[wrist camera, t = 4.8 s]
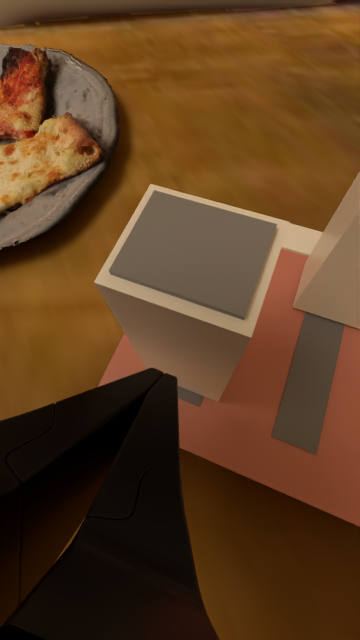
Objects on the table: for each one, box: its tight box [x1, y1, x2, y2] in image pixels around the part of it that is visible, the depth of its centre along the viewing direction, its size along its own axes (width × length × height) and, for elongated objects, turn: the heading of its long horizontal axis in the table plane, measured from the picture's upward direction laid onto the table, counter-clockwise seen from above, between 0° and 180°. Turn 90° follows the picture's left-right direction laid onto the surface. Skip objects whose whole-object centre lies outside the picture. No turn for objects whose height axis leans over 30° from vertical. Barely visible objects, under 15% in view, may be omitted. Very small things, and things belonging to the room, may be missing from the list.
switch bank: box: [98, 223, 360, 527], centre depth 16 cm, size 14×19×2 cm
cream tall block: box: [94, 184, 290, 402], centre depth 11 cm, size 3×4×9 cm
